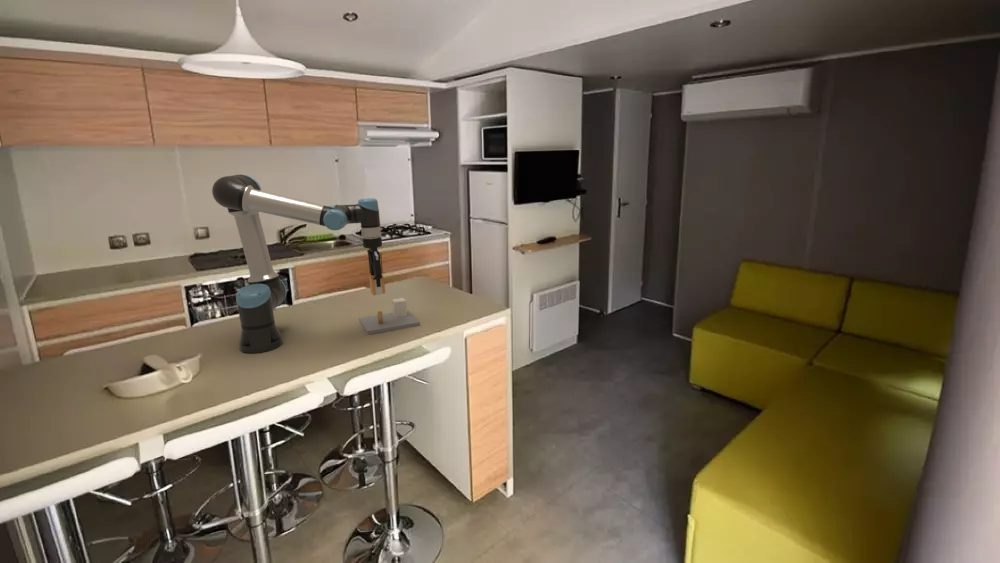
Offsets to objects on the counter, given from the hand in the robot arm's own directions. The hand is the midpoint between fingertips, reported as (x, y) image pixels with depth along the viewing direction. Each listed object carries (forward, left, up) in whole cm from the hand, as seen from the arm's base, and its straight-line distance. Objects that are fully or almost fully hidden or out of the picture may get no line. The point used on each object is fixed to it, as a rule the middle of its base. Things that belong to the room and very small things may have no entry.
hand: (377, 292), depth 202 cm
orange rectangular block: (0, 0, 0) cm, 0 cm away
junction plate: (+4, +2, -15) cm, 16 cm away
